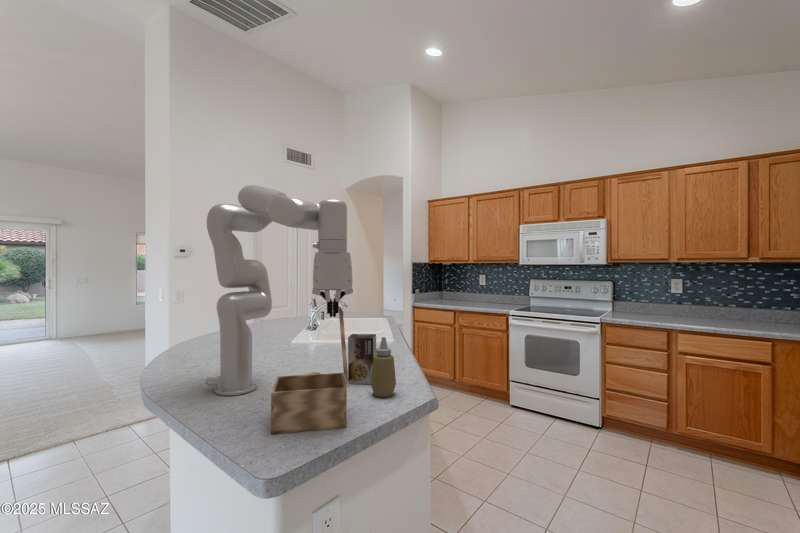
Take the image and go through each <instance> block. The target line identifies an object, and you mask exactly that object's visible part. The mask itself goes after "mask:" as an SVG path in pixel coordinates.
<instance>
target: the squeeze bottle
mask: <svg viewBox="0 0 800 533" xmlns="http://www.w3.org/2000/svg"><path fill="white" fill-rule="evenodd" d="M395 368H396V366H395V356H394V355H392V349H391V347H388V342H387V339H386V337H385V336H382V337H381V340H380V345H379V347H376V355H375V356H374V357H373V366H372V376H371V384H370V387H371V389H372V392H373V395H374V396H376V397H379V398H388V397H391V396H393V394H394V391H395V388H396V385H397V379H396V378H397V377H396V369H395Z"/></svg>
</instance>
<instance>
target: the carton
mask: <svg viewBox="0 0 800 533" xmlns="http://www.w3.org/2000/svg"><path fill="white" fill-rule="evenodd" d="M347 388H348V387H347V385H346V381H345V376H344V372H331V373H330V372H329V373H320V374H311V375H305V374H297V375H296V374H295V375H280V376H276V379H275V381H274V384H273V387H272V390H271V392H270V405H271V406H270V435H277V434H280V435H281V434H288V433H300V432H309V431H310V432H314V431H323V430H324V431H325V430H336V429H345V428H346V429H347V408H348V407H347V406H348V404H347V399H348V397H347V395H348V394H347V390H348V389H347Z"/></svg>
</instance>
